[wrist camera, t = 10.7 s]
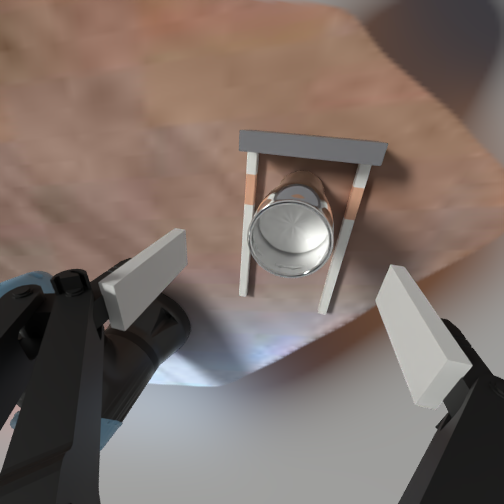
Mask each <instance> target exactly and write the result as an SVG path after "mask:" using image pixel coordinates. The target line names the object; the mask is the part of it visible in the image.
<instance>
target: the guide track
mask: <svg viewBox="0 0 504 504" xmlns="http://www.w3.org/2000/svg"><path fill="white" fill-rule="evenodd" d="M387 146H388V143H384V142H379V141H371V140H359V139H348V138H337V137H326V136H315V135H303V134H292V133H281V132H270V131H259V130H240V136H239V151H245V152H248V154H247V171H246V188H245V204H244V221H243V238H242V255H241V271H240V288H239V296H244V297H246V295H247V293H248V283H249V270H250V258H251V253H250V250H249V247H248V242H247V233H248V228H249V225H250V223H251V221H252V219H253V217H254V210H255V197H256V185H257V173H258V161H259V153H264V154H273V155H282V156H292V157H301V158H310V159H320V160H329V161H338V162H348V163H357V164H358V167H357V171H356V174H355V178H354V181H353V185H352V189H351V192H350V196H349V199H348V203H347V206H346V210H345V214H344V217H343V221H342V224H341V228H340V231H339V235H338V239H337V242H336V246H335V249H334V253H333V256H332V260H331V263H330V267H329V271H328V274H327V278H326V281H325V285H324V288H323V292H322V296H321V299H320V303H319V306H318V313H320V314H325V315H326V312H327V309H328V306H329V302H330V299H331V296H332V293H333V289H334V286H335V283H336V280H337V276H338V273H339V270H340V267H341V263H342V260H343V257H344V254H345V250H346V247H347V244H348V241H349V237H350V234H351V231H352V228H353V224H354V221H355V218H356V215H357V211H358V208H359V205H360V202H361V198H362V195H363V192H364V189H365V185H366V182H367V179H368V176H369V172H370V169H371V166H372V165H376V166H381V164H382V161H383V158H384V155H385V152H386V149H387Z"/></svg>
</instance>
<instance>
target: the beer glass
mask: <svg viewBox="0 0 504 504" xmlns="http://www.w3.org/2000/svg"><path fill="white" fill-rule="evenodd" d="M247 242H248V247H249V250H250V253H251V255H252V256H253V258H254V259H255V261H256V262H257V263H258V264H259V265H260V266H261V267H262V268H263V269H265V270H266V271H268V272H270V273H272V274H274V275H276V276H280V277H284V278H300V277H304V276H308V275H310V274H312V273H314V272H316V271H317V270H319V269H320V268H321V267H322V266H323V265H324V264H325V263H326V262H327V261H328V259H329V257H330V255H331V253H332V250H333V245H334V219H333V213H332V209H331V206H330V203H329V201H328V200H327V198H326V197H325V191H324V186H323V184H322V182H321V180H320V179H319V178H318V177H317V176H316V175H315V174H313V173H311V172H308V171H295V172H292V173H290V174H289V175H287V176H286V177H285V178H284V179H283V180H282V181H281V183H280V185H279V186H278V187H276V188H275V189H273V190H272V191H271V192H270V193H269V194H268V195H267V196H266V197H265V198H264V199H263V201H262V202H261V204H260V205H259V207H258V209H257V211H256V213H255V215H254V217H253V219H252V221H251V223H250V225H249V228H248V233H247Z"/></svg>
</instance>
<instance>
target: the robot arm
mask: <svg viewBox="0 0 504 504" xmlns="http://www.w3.org/2000/svg"><path fill="white" fill-rule="evenodd" d="M187 264H188V263H187V248H186V232H185V230H183V229H177V228H174V229H173V230H172V231H170V232H169V233H167V234H166V235H165V236H163V237H162V238H160V239H159V240H158V241H156V242H155V243H153V244H152V245H150V246H149V247H148V248H146V249H145V250H143V251H142V252H141V253H139V254H138V255H136V256H135V257H133V258H129V259H126V260H123V261H121V262H119V263H118V264H116V265H115V266H114V267H112V268H111V269H109V270H108V271H106V272H105V273H103V274H102V275H100V276H99V277H97V278H96V279H94V280H93V281H91V282H89V279H88V275H87V272H86V271H85V270H82V269H71V270H66V271H63V272H60V273H58V274H56V275H55V276H52V275H51V274H49V273H47V272H43V271H34V272H30V273H27V274H24V275H21V276H18V277H15V278H12V279H9V280H7V281H4V282H1V283H0V430H1V429H2V427H3V425H4V424H5V422H6V420H7V419H8V417H9V415H10V414H11V412H12V410H13V409H14V407H15V405H16V404H17V405H18V406H19V407H21V410H20V411H18V412H17V413H16V414H15V415H14V417H13V419H12V420H11V422H10V425H11V427H12V428H13V429H14V432H13V435H12V439H11V442H10V445H9V448H8V451H7V454H6V458H5V461H4V464H3V468H2V470H1V473H0V504H100V497H99V488H98V487H99V458H100V450H102V448H103V447H104V446H105V445H106V443H107V442H108V441H109V439H110V438H111V437H112V436H113V434H114V433H115V432H116V430H117V429H118V428H119V427H120V426H121V425H122V422H123V420H124V418H125V417H126V415H127V414H128V412H129V411H130V409H131V408H132V406H133V405H134V403H135V402H136V400H137V399H138V397H139V396H140V394H141V392H142V391H143V389H144V388H145V386H146V385H147V383H148V382H149V380H150V379H151V377H152V376H153V374H154V373H155V371H156V370H157V368H158V367H159V365H160V364H162V363H163V362H164V361H165V360H166V359H168V358H169V357H170V356H171V355H172V354H174V353H175V352H176V351H177V350H178V349H180V348H181V347H182V346H183V344H184V343H185V341H186V340H187V338H188V336H189V334H190V323H189V320H188V318H187V316H186V314H185V313H184V311H183V310H182V309H181V308H180V306H179V305H178V304H176V303H175V302H174V301H173V300H171V299H170V298H168V297H167V296H165V295H163V294H161V292H162V291H163V290H164V289H165V288H166V287H167V286H168V285H169V284H170V283H171V281H172V280H173V279H174V278H175V277H176V276H177V275H178V274H179V273H180V272H181V271H182V270H183V269H184V268H185V266H186V265H187ZM375 301H376V304H377V306H378V309H379V312H380V314H381V317H382V320H383V322H384V325H385V328H386V330H387V333H388V335H389V338H390V341H391V343H392V346H393V349H394V351H395V354H396V356H397V359H398V362H399V364H400V367H401V370H402V372H403V375H404V378H405V380H406V383H407V386H408V388H409V391H410V393H411V396H412V399H413V401H414V404H415V405H417V406H421V407H425V408H429V409H433V410H437V408H438V407H439V406H440V405H441V404H442V402H444V404H445V406H446V408H447V410H448V413H447V414H446V416H445V417H444V418H443V419H442V420H441V421H440V423H439V424H438V425H437V426H436V428H437V429H438V430H437V432H436V433H435V435H434V437H433V439H432V441H431V443H430V445H429V447H428V449H427V450H426V452H425V454H424V456H423V458H422V460H421V462H420V464H419V465H418V467H417V469H416V471H415V473H414V475H413V477H412V479H411V481H410V482H409V484H408V486H407V488H406V490H405V492H404V494H403V496H402V497H401V499H400V501H399V503H398V504H504V380H503V379H501V378H499V377H496V376H494V375H493V374H492V373H491V371H490V370H489V369H488V367H487V366H486V365H485V363H484V362H483V361H482V359H481V358H480V357H479V356H478V354H477V353H476V351H475V350H474V349H473V348H471V345H470V343H469V342H468V341H467V340H466V338H465V337H464V335H463V334H462V333H461V331H460V330H459V329H458V328H457V327H456V326H455V325H453V324H452V323H451V322H450V321H449V320H447V319H442V318H440V317H439V316H438V314H437V313H436V312H435V310H434V309H433V307H432V306H431V304H430V303H429V301H428V300H427V299H426V297H425V296H424V294H423V293H422V291H421V290H420V288H419V287H418V286H417V284H416V283H415V281H414V280H413V278H412V277H411V275H410V274H409V272H408V271H407V270H406V268H405V267H403V266H397V265H390V267H389V269H388V272H387V274H386V276H385V279H384V281H383V283H382V286H381V288H380V291H379V293H378V295H377V298H376V300H375ZM108 319H109V321H110V325H109V326H108V328H107V329H106V330H105V329H104V326H103V324H104V323H105V322H106V321H107V320H108ZM104 330H105V331H104Z"/></svg>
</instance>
